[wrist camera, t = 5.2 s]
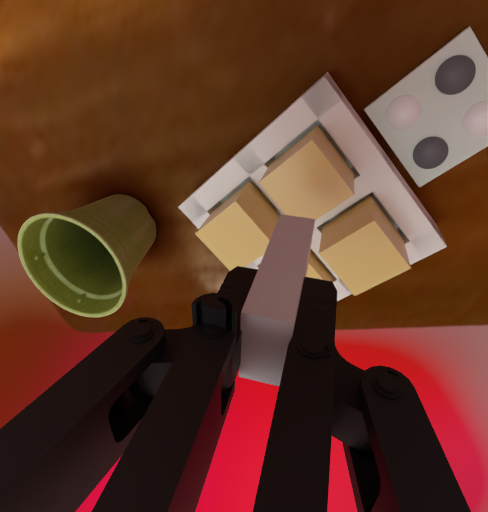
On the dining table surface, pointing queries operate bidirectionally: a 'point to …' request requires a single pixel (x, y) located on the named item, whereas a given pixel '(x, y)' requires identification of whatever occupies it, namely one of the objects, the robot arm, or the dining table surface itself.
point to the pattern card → (437, 110)
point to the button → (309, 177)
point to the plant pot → (87, 253)
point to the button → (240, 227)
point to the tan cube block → (317, 268)
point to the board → (354, 154)
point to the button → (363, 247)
